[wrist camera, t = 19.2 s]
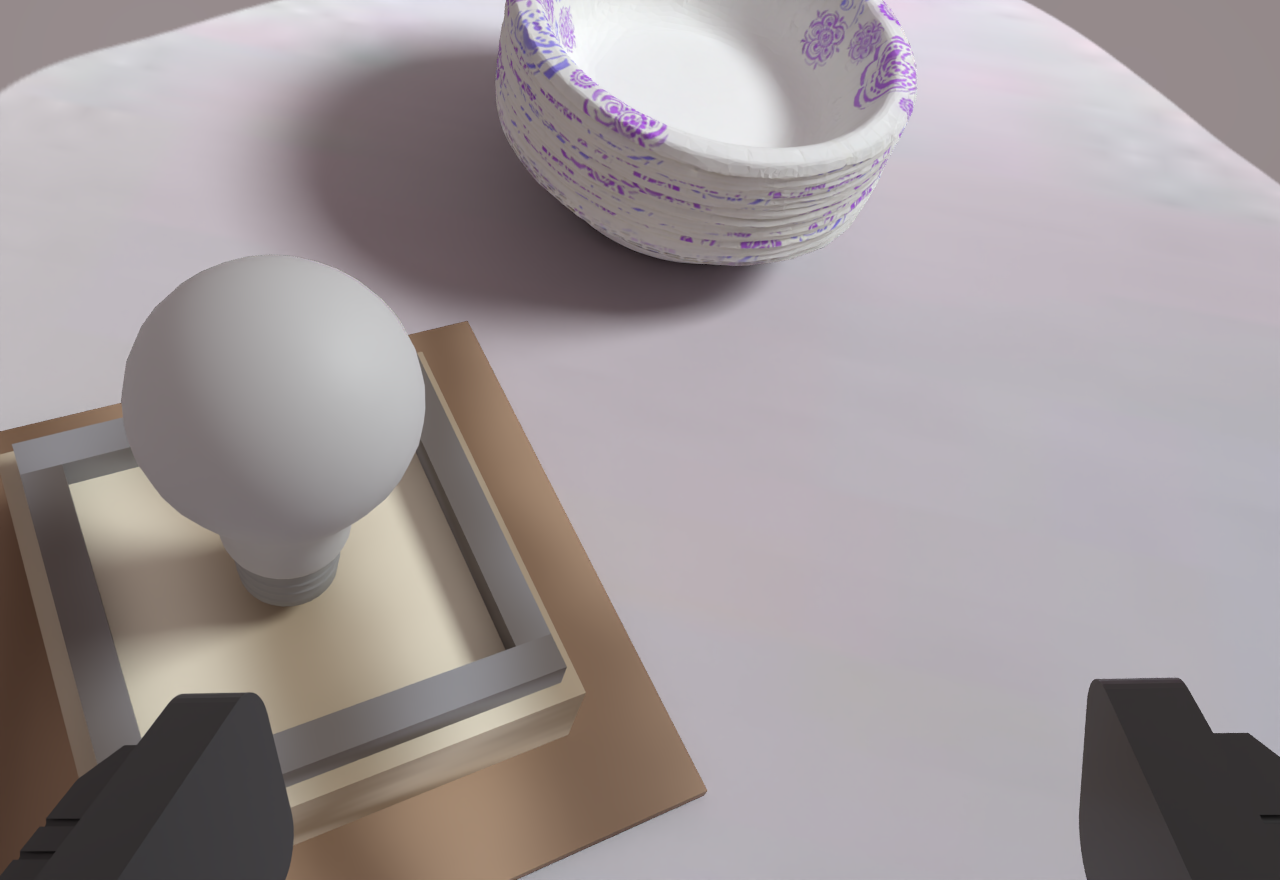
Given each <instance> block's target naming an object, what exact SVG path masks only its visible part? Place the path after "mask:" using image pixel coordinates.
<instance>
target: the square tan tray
mask: <svg viewBox="0 0 1280 880" xmlns="http://www.w3.org/2000/svg"><path fill="white" fill-rule="evenodd" d="M408 336H409V338H410V340H411V342H412V344H413V346H414V348H415V350H416V353H417V357H418V360H419V364H420V367H421V371H422V376H423V380H424V384H425V416H424V424H423V428H422V433H421V437H420V442H419V446H418V448H417V450H416V452H415V454H414V456H413V458H412V460H411V462H410V464H409V466H408V468H407V470H406V471H405V473H404V475H403V477H402V479H401V481H400V482H399V483H398V484H397V486H396V487H395V488H394V489H393V491H392V492H391V493H390V494H389V496H388V497H387V498H386V499H385V500H384V501H383V502H382V503H380V504H379V505H378V506H377V507H376V508H374V509H373V510H372V511H371V512H370V513H368V514H367V515H366V516H364V517H363V518H361V519H360V520H358V521H357V522H355V523H354V524H352V525H351V530H350V534H349V538H348V540H347V541H346V543H345V545H344V547H343V549H342V550H341V551H340V558H339V562H338V568H337V572H336V576H335V578H334V580H333V582H332V583H331V585H330V586H329V587H328V588H327V590H326V591H325V592H323V593H322V594H321V595H320V596H319V597H317V598H315V599H313V600H312V601H310V602H307V603H304V604H302V605H296V606H286V607H281V606H275V605H270V604H267V603H264V602H262V601H260V600H259V599H257V598H255V597H254V596H253V595H252V594H250V593H249V592H248V591H247V589H246V588H245V587H244V585H243V584H242V581H241V579H240V577H239V574H238V572H237V569H236V564H235V561H234V559H233V558H232V557H231V556H230V555H229V553H228V552H227V551H226V549H225V548H224V546H223V543H222V541H221V538H220V535H218V534H216V533H214V532H212V531H210V530H208V529H205V528H203V527H202V526H200V525H198V524H197V523H195V522H193V521H191V520H190V519H188V518H186V517H184V516H183V515H181V514H180V513H179V512H178V511H176V510H175V509H174V508H173V507H172V506H171V505H170V504H169V503H167V502H166V501H165V500H164V499H163V498H162V497H161V496H160V494H159V493H158V492H157V490H156V489H155V488H154V486H153V485H152V484H151V482H150V481H149V479H148V478H147V477H146V475H145V474H144V472H143V471H142V470H141V468H140V467H139V465H138V464H137V462H136V460H135V457H134V455H133V452H132V450H131V447H130V445H129V442H128V439H127V435H126V431H125V427H124V421H123V413H122V404H121V403H119V404H115V405H110V406H106V407H102V408H98V409H93V410H89V411H85V412H81V413H77V414H72V415H68V416H64V417H60V418H55V419H51V420H47V421H43V422H38V423H34V424H30V425H26V426H22V427H17V428H13V429H9V430H5V431H0V875H1V874H2V873H3V872H4V870H5V869H6V868H7V867H8V865H9V864H10V863H11V862H12V860H18V859H19V857H20V850H21V849H22V848H23V847H24V845H25V844H26V843H27V842H28V840H29V839H30V838H31V837H32V835H33V834H34V833H35V832H36V830H37V829H38V828H39V827H45V825H46V818H47V817H48V815H49V814H50V813H51V812H52V810H53V809H54V808H55V807H56V805H57V804H58V803H59V802H60V800H61V799H62V798H63V797H64V795H65V794H66V793H67V792H68V790H69V789H70V788H71V787H72V785H73V784H74V783H75V782H76V780H77V779H78V778H80V777H81V776H83V775H84V774H85V773H87V772H88V771H89V770H91V769H92V768H94V767H95V766H96V765H98V764H99V763H100V762H102V761H103V760H104V759H106V758H107V757H109V756H110V755H111V754H113V753H114V752H115V751H117V750H118V749H120V748H121V747H122V746H124V745H137V744H138V743H139V741H140V740H141V739H142V737H143V736H144V735H145V733H146V732H147V731H148V730H149V728H150V727H151V726H152V724H153V723H154V722H155V720H156V719H157V718H158V716H159V715H160V714H161V712H162V711H163V710H164V708H165V707H166V706H167V705H168V703H169V702H170V701H171V700H172V699H173V698H174V697H176V696H177V695H179V694H191V693H245V692H253V693H255V694H257V695H258V696H259V697H260V698H261V699H262V701H263V702H264V705H265V707H266V710H267V713H268V717H269V721H270V725H271V729H272V733H273V738H274V742H275V746H276V750H277V754H278V758H279V762H280V766H281V770H282V774H283V779H284V783H285V787H286V791H287V795H288V799H289V803H290V807H291V812H292V817H293V825H294V842H293V852H292V858H291V863H290V867H289V871H288V874H287V877H286V879H285V880H516V879H519V878H521V877H523V876H525V875H528V874H530V873H532V872H534V871H536V870H539V869H541V868H543V867H545V866H548V865H550V864H552V863H554V862H557V861H559V860H561V859H563V858H565V857H568V856H570V855H572V854H574V853H577V852H579V851H581V850H583V849H585V848H588V847H590V846H592V845H594V844H597V843H599V842H601V841H603V840H606V839H608V838H610V837H612V836H614V835H617V834H619V833H621V832H623V831H626V830H628V829H630V828H632V827H634V826H637V825H639V824H641V823H643V822H646V821H648V820H650V819H652V818H655V817H657V816H659V815H661V814H663V813H666V812H668V811H670V810H672V809H675V808H677V807H679V806H681V805H683V804H686V803H688V802H690V801H692V800H695V799H697V798H699V797H701V796H704V794H705V793H706V792H707V789H706V787H705V785H704V783H703V781H702V779H701V777H700V775H699V773H698V771H697V769H696V768H695V766H694V764H693V762H692V760H691V758H690V756H689V754H688V752H687V750H686V748H685V746H684V744H683V742H682V740H681V738H680V736H679V734H678V732H677V730H676V728H675V726H674V724H673V722H672V721H671V719H670V717H669V715H668V713H667V711H666V709H665V707H664V705H663V703H662V701H661V699H660V697H659V695H658V693H657V691H656V689H655V687H654V685H653V683H652V681H651V679H650V677H649V675H648V674H647V672H646V670H645V668H644V666H643V664H642V662H641V660H640V658H639V656H638V654H637V652H636V650H635V648H634V646H633V644H632V642H631V640H630V638H629V636H628V634H627V632H626V630H625V628H624V626H623V625H622V623H621V621H620V619H619V617H618V615H617V613H616V611H615V609H614V607H613V605H612V603H611V601H610V599H609V597H608V595H607V593H606V591H605V589H604V587H603V585H602V583H601V581H600V579H599V578H598V576H597V574H596V572H595V570H594V568H593V566H592V564H591V562H590V560H589V558H588V556H587V554H586V552H585V550H584V548H583V546H582V544H581V542H580V540H579V538H578V536H577V534H576V532H575V531H574V529H573V527H572V525H571V523H570V521H569V519H568V517H567V515H566V513H565V511H564V509H563V507H562V505H561V503H560V501H559V499H558V497H557V495H556V493H555V491H554V489H553V487H552V485H551V484H550V482H549V480H548V478H547V476H546V474H545V472H544V470H543V468H542V466H541V464H540V462H539V460H538V458H537V456H536V454H535V452H534V450H533V448H532V446H531V444H530V442H529V440H528V438H527V437H526V435H525V433H524V431H523V429H522V427H521V425H520V423H519V421H518V419H517V417H516V415H515V413H514V411H513V409H512V407H511V405H510V403H509V401H508V399H507V397H506V395H505V393H504V391H503V390H502V388H501V386H500V384H499V382H498V380H497V378H496V376H495V374H494V372H493V370H492V368H491V366H490V364H489V362H488V360H487V358H486V356H485V354H484V352H483V350H482V348H481V346H480V344H479V343H478V341H477V339H476V337H475V335H474V333H473V331H472V329H471V327H470V325H469V323H468V321H465V322H461V323H457V324H453V325H448V326H444V327H440V328H436V329H432V330H427V331H423V332H419V333H415V334H410V335H408Z"/></svg>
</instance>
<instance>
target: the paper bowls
mask: <svg viewBox="0 0 1280 880" xmlns="http://www.w3.org/2000/svg"><path fill="white" fill-rule="evenodd" d="M495 90H496V105H497V111H498V115H499V119H500V123H501V126H502V129H503V131H504V134H505V136H506V139H507V140H508V142H509V144H510V145H511V147H512V148H513V150H514V152H515V153H516V155H517V157H518V158H519V159H520V161H521V162H522V164H523V165H524V166H525V168H526V169H527V170H528V172H529V173H530V174H531V175H532V176H533V177H534V179H535V180H536V181H537V182H538V183H539V184H540V185H541V186H542V187H544V188H545V189H546V190H547V191H548V192H549V193H551V194H552V195H553V196H554V197H555V198H557V199H558V200H559V201H560V202H561V203H562V204H563V205H564V206H566V207H567V208H568V209H570V210H571V211H572V212H573V213H575V214H576V215H577V216H578V217H580V218H582V219H583V220H585V221H586V222H587V223H588V224H590V225H591V226H592V227H593V228H594V229H596V230H597V231H599V232H600V233H602V234H603V235H605V236H606V237H608V238H610V239H612V240H613V241H615V242H617V243H619V244H621V245H623V246H625V247H627V248H629V249H631V250H634V251H636V252H639V253H642V254H645V255H648V256H652V257H655V258H659V259H663V260H668V261H674V262H680V263H692V264H713V265H729V266H743V265H754V264H767V263H773V262H779V261H785V260H789V259H793V258H796V257H799V256H801V255H803V254H808V253H811V252H813V251H815V250H818V249H821V248H823V247H825V246H827V245H828V244H829V243H830V242H832V241H833V240H834V239H835V238H837V237H838V236H839V235H841V234H842V233H844V232H845V231H846V230H847V229H848V228H849V227H850V225H851V224H852V223H853V221H854V220H855V219H856V217H857V215H858V214H859V212H860V211H861V209H862V208H863V206H864V205H865V203H866V201H867V200H868V199H869V197H870V195H871V193H872V192H873V190H874V188H875V186H876V184H877V182H878V181H879V178H880V176H881V174H882V171H883V169H884V167H885V165H886V162H887V161H888V159H889V158H890V156H891V154H892V152H893V150H894V148H895V146H896V144H897V143H898V141H899V139H900V137H901V135H902V133H903V131H904V128H905V127H906V125H907V123H908V120H909V118H910V116H911V113H912V111H913V108H914V104H915V101H916V95H917V71H916V64H915V61H914V55H913V52H912V50H911V47H910V44H909V42H908V40H907V38H906V36H905V33H904V31H903V29H902V27H901V25H900V24H899V22H898V20H897V18H896V17H895V15H894V13H893V12H892V11H891V9H890V8H889V7H888V5H887V4H886V3H885V2H884V1H883V0H506V3H505V13H504V21H503V23H502V28H501V35H500V41H499V52H498V57H497V68H496V76H495Z"/></svg>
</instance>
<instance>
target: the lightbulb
mask: <svg viewBox="0 0 1280 880" xmlns="http://www.w3.org/2000/svg"><path fill="white" fill-rule="evenodd" d="M121 404H122V413H123V421H124V427H125V431H126V435H127V439H128V442H129V445H130V447H131V450H132V452H133V455H134V457H135V460H136V462H137V464H138V465H139V467H140V468H141V470H142V471H143V472H144V474H145V475H146V477H147V478H148V479H149V481H150V482H151V484H152V485H153V486H154V488H155V489H156V490H157V492H158V493H159V494H160V496H161V497H162V498H163V499H164V500H165V501H166V502H167V503H169V504H170V505H171V506H172V507H173V508H174V509H175V510H176V511H178V512H179V513H180V514H181V515H183V516H184V517H186V518H188V519H190V520H191V521H193V522H195V523H197V524H198V525H200V526H202V527H203V528H205V529H208V530H210V531H212V532H214V533H216V534H218V535H220V538H221V541H222V543H223V546H224V548H225V549H226V551H227V552H228V553H229V555H230V556H231V557H232V558H233V559H234V561H235V564H236V569H237V572H238V574H239V577H240V579H241V581H242V584H243V585H244V587H245V588H246V589H247V591H248V592H249V593H250V594H252V595H253V596H254V597H255V598H257V599H259V600H260V601H262V602H264V603H267V604H270V605H275V606H281V607H286V606H296V605H302V604H304V603H307V602H310V601H312V600H313V599H315V598H317V597H319V596H320V595H321V594H322V593H323V592H325V591H326V590H327V588H328V587H329V586H330V585H331V583H332V582H333V580H334V578H335V576H336V572H337V568H338V562H339V558H340V551H341V550H342V549H343V547H344V545H345V543H346V541H347V540H348V538H349V534H350V530H351V525H352V524H354V523H355V522H357V521H358V520H360V519H361V518H363V517H364V516H366V515H367V514H368V513H370V512H371V511H372V510H373V509H374V508H376V507H377V506H378V505H379V504H380V503H382V502H383V501H384V500H385V499H386V498H387V497H388V496H389V494H390V493H391V492H392V491H393V489H394V488H395V487H396V486H397V484H398V483H399V482H400V481H401V479H402V477H403V475H404V473H405V471H406V470H407V468H408V466H409V464H410V462H411V460H412V458H413V456H414V454H415V452H416V450H417V448H418V446H419V442H420V437H421V433H422V428H423V424H424V416H425V384H424V380H423V376H422V371H421V367H420V364H419V360H418V357H417V353H416V350H415V348H414V346H413V344H412V342H411V340H410V338H409V336H408V335H407V333H406V331H405V329H404V327H403V325H402V324H401V322H400V320H399V318H398V317H397V316H396V314H395V313H394V312H393V311H392V310H391V309H390V307H389V306H388V305H387V304H386V303H385V302H384V301H383V300H382V299H381V298H380V297H378V296H377V295H376V294H375V293H374V292H372V291H371V290H370V289H368V288H367V287H366V286H365V285H363V284H362V283H361V282H360V281H358V280H357V279H355V278H354V277H352V276H350V275H348V274H346V273H344V272H342V271H341V270H339V269H337V268H334V267H331V266H328V265H325V264H322V263H320V262H317V261H313V260H310V259H304V258H299V257H294V256H287V255H259V256H248V257H244V258H240V259H235V260H231V261H227V262H224V263H221V264H219V265H216V266H214V267H211V268H209V269H206V270H204V271H201V272H200V273H198V274H196V275H195V276H193V277H191V278H190V279H188V280H186V281H185V282H183V283H182V284H181V285H179V286H178V287H177V288H176V289H175V290H174V291H173V292H172V293H171V294H169V295H168V296H167V297H166V298H165V299H164V300H163V301H162V302H161V303H159V304H158V305H157V306H156V307H155V308H154V310H153V311H152V312H151V314H150V315H149V316H148V318H147V319H146V321H145V322H144V323H143V325H142V326H141V328H140V331H139V333H138V335H137V338H136V340H135V342H134V345H133V347H132V350H131V352H130V354H129V357H128V359H127V361H126V368H125V375H124V382H123V389H122V398H121Z"/></svg>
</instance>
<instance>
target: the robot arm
mask: <svg viewBox="0 0 1280 880" xmlns="http://www.w3.org/2000/svg"><path fill="white" fill-rule="evenodd" d="M1079 831H1080V844H1081V852H1082V858H1083V864H1084V869H1085V873H1086V877H1087V880H1280V757H1279V756H1278V755H1276V754H1275V753H1274V752H1272V751H1271V750H1270V749H1269V748H1267V747H1266V746H1265V745H1263V744H1262V743H1261V742H1259V741H1258V740H1257V739H1256V738H1254V737H1253V736H1252V735H1250V734H1249V733H1213V732H1212V730H1211V728H1210V727H1209V725H1208V723H1207V721H1206V720H1205V718H1204V716H1203V714H1202V713H1201V711H1200V709H1199V707H1198V705H1197V704H1196V702H1195V700H1194V698H1193V697H1192V695H1191V693H1190V691H1189V690H1188V688H1187V686H1186V685H1185V683H1184V682H1183V681H1182V680H1181V679H1179V678H1135V679H1094V680H1093V681H1092V683H1091V685H1090V688H1089V692H1088V698H1087V709H1086V723H1085V737H1084V751H1083V765H1082V780H1081V794H1080V808H1079ZM293 842H294V825H293V817H292V812H291V807H290V803H289V799H288V795H287V791H286V787H285V783H284V779H283V774H282V770H281V766H280V762H279V758H278V754H277V750H276V746H275V742H274V738H273V733H272V729H271V725H270V721H269V717H268V713H267V710H266V707H265V705H264V702H263V701H262V699H261V698H260V697H259V696H258V695H257V694H255V693H253V692H245V693H191V694H179V695H177V696H176V697H174V698H173V699H172V700H171V701H170V702H169V703H168V705H167V706H166V707H165V708H164V710H163V711H162V712H161V714H160V715H159V716H158V718H157V719H156V720H155V722H154V723H153V724H152V726H151V727H150V728H149V730H148V731H147V732H146V733H145V735H144V736H143V737H142V739H141V740H140V741H139V743H138V744H137V745H124V746H122V747H121V748H120V749H118V750H117V751H115V752H114V753H113V754H111V755H110V756H109V757H107V758H106V759H104V760H103V761H102V762H100V763H99V764H98V765H96V766H95V767H94V768H92V769H91V770H89V771H88V772H87V773H85V774H84V775H83V776H81V777H80V778H78V779H77V780H76V782H75V783H74V784H73V785H72V787H71V788H70V789H69V790H68V792H67V793H66V794H65V795H64V797H63V798H62V799H61V800H60V802H59V803H58V804H57V805H56V807H55V808H54V809H53V810H52V812H51V813H50V814H49V815H48V817H47V818H46V825H45V827H39V828H38V829H37V830H36V832H35V833H34V834H33V835H32V837H31V838H30V839H29V840H28V842H27V843H26V844H25V845H24V847H23V848H22V849H21V850H20V857H19V859H18V860H12V862H11V863H10V864H9V865H8V867H7V868H6V869H5V870H4V872H3V873H2V874H1V875H0V880H285V879H286V877H287V874H288V871H289V867H290V863H291V858H292V852H293Z"/></svg>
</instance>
